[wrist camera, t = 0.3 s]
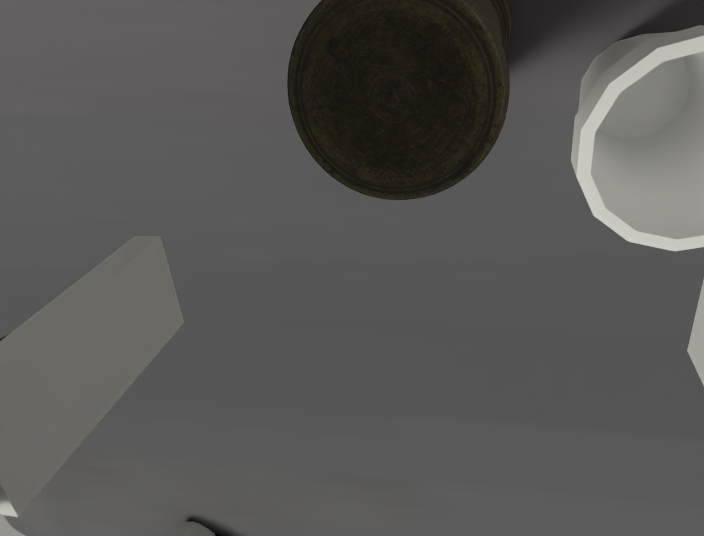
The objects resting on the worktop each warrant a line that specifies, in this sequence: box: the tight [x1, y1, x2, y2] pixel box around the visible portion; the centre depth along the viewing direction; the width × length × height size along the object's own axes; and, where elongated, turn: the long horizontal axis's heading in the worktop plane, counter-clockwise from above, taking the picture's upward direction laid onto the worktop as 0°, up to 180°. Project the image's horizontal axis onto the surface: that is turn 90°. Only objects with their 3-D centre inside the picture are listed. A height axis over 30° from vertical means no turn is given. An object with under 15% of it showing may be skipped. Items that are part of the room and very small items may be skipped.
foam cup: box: [571, 25, 704, 251], centre depth 30 cm, size 10×9×13 cm
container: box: [288, 0, 511, 200], centre depth 29 cm, size 9×9×18 cm
